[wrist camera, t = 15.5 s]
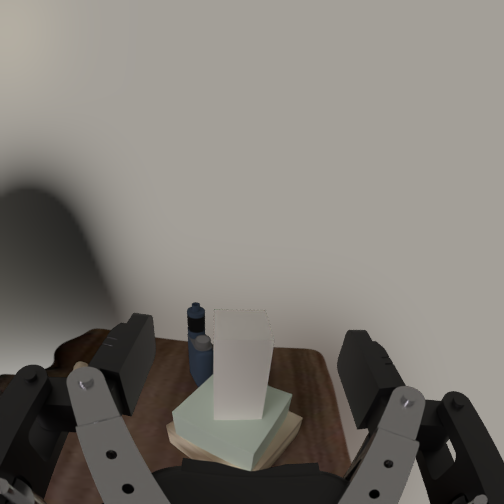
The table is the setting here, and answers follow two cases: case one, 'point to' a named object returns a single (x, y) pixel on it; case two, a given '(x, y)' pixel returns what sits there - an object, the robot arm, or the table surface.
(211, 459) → the base block
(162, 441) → the table surface
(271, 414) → the top block
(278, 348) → the table surface
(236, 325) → the white block
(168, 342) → the table surface
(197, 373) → the vaping device
